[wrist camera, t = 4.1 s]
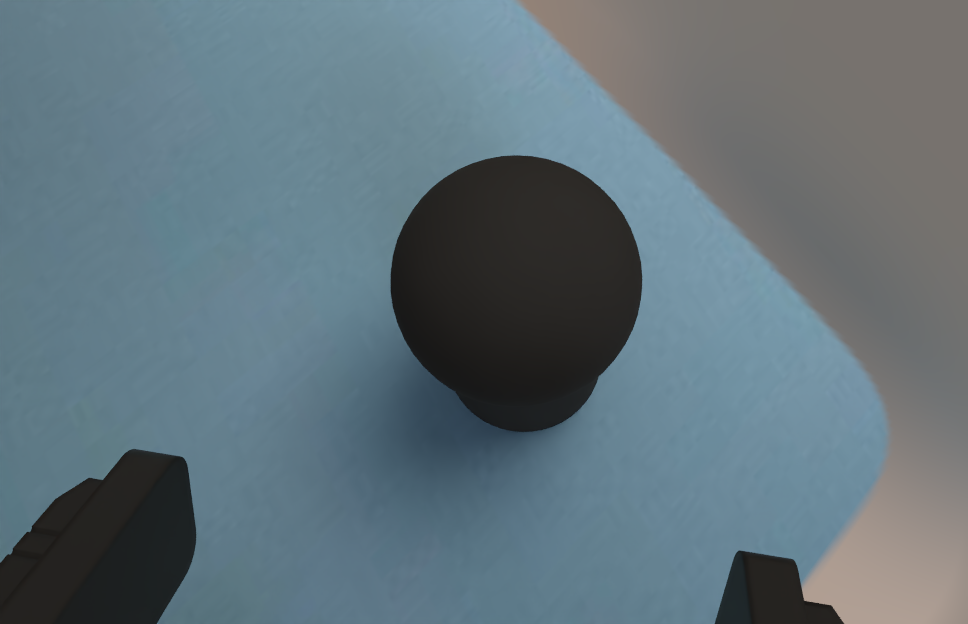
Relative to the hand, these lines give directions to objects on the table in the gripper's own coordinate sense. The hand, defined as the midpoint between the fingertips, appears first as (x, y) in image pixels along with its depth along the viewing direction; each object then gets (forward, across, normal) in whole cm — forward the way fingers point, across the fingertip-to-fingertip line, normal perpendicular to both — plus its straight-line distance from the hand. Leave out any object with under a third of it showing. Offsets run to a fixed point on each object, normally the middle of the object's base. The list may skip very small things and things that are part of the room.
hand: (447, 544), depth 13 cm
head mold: (+12, 0, +4) cm, 13 cm away
